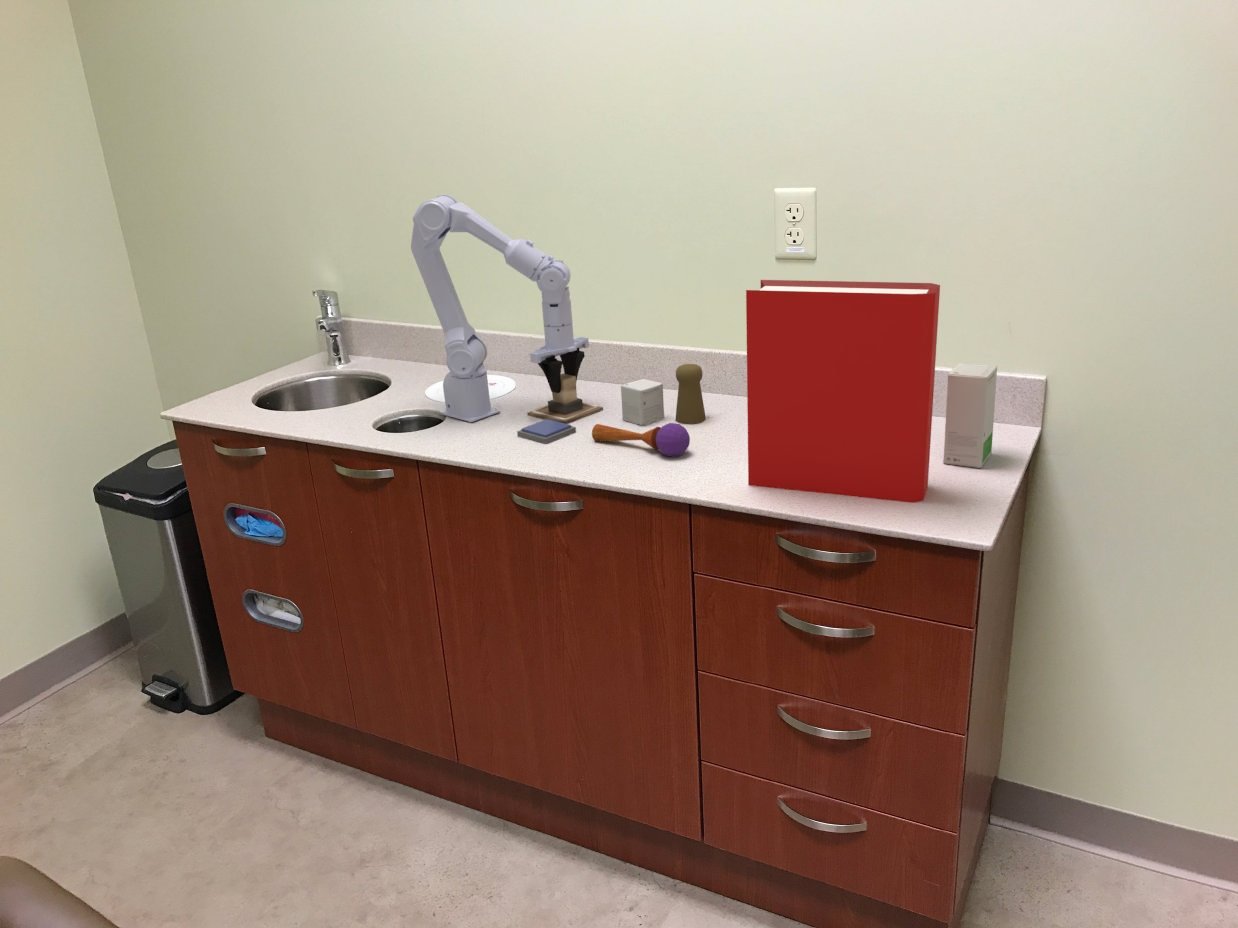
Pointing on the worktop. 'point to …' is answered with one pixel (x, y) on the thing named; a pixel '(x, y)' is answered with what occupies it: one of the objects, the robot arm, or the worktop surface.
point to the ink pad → (546, 431)
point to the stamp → (566, 397)
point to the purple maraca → (649, 437)
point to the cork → (689, 395)
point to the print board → (566, 419)
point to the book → (841, 386)
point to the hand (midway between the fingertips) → (563, 389)
